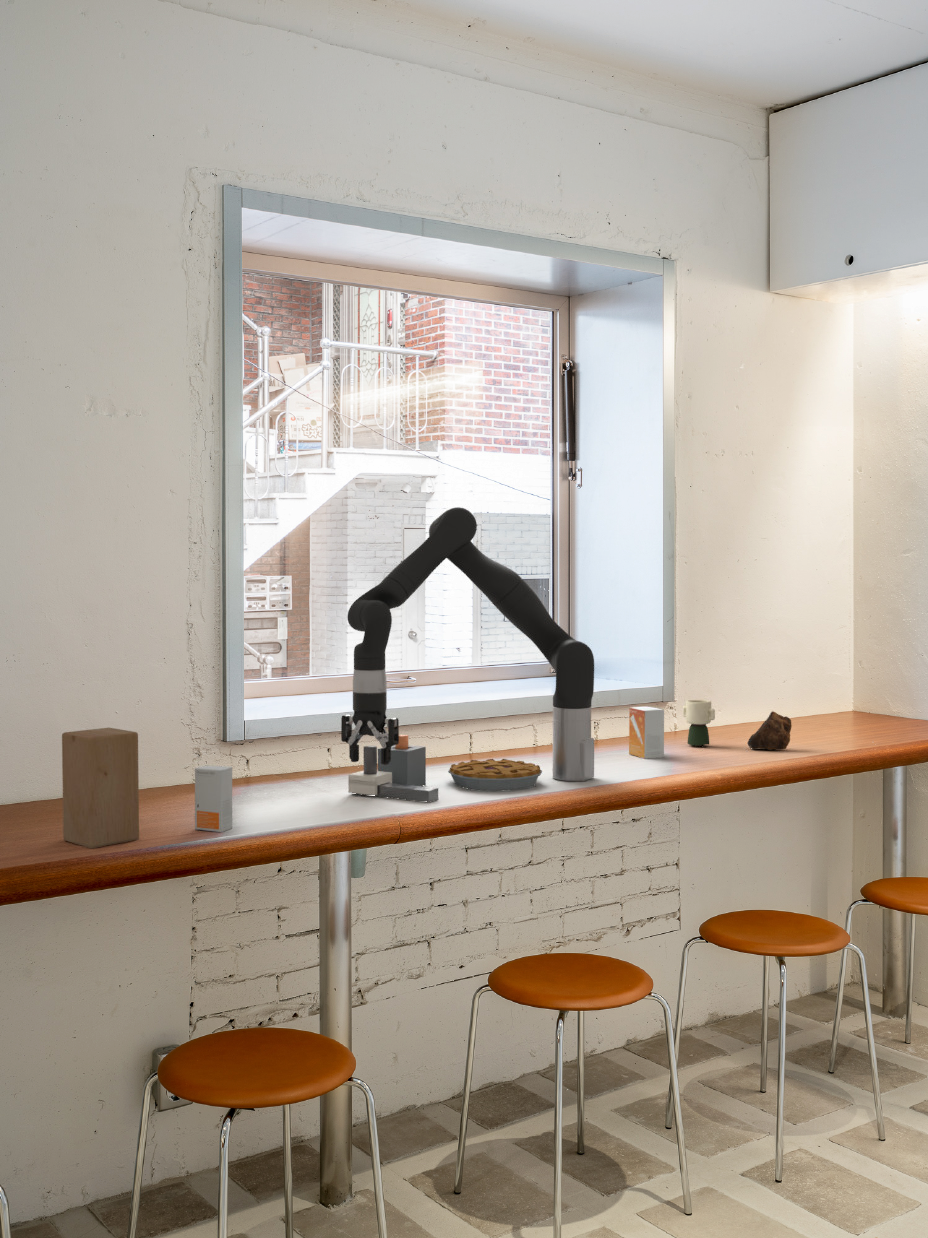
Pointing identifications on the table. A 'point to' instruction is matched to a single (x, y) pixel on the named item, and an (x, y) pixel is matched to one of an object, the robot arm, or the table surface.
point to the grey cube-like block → (406, 765)
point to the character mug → (698, 720)
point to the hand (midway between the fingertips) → (369, 763)
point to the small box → (646, 732)
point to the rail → (407, 792)
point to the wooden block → (100, 787)
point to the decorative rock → (772, 733)
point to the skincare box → (213, 798)
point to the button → (402, 742)
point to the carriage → (368, 775)
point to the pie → (495, 775)
